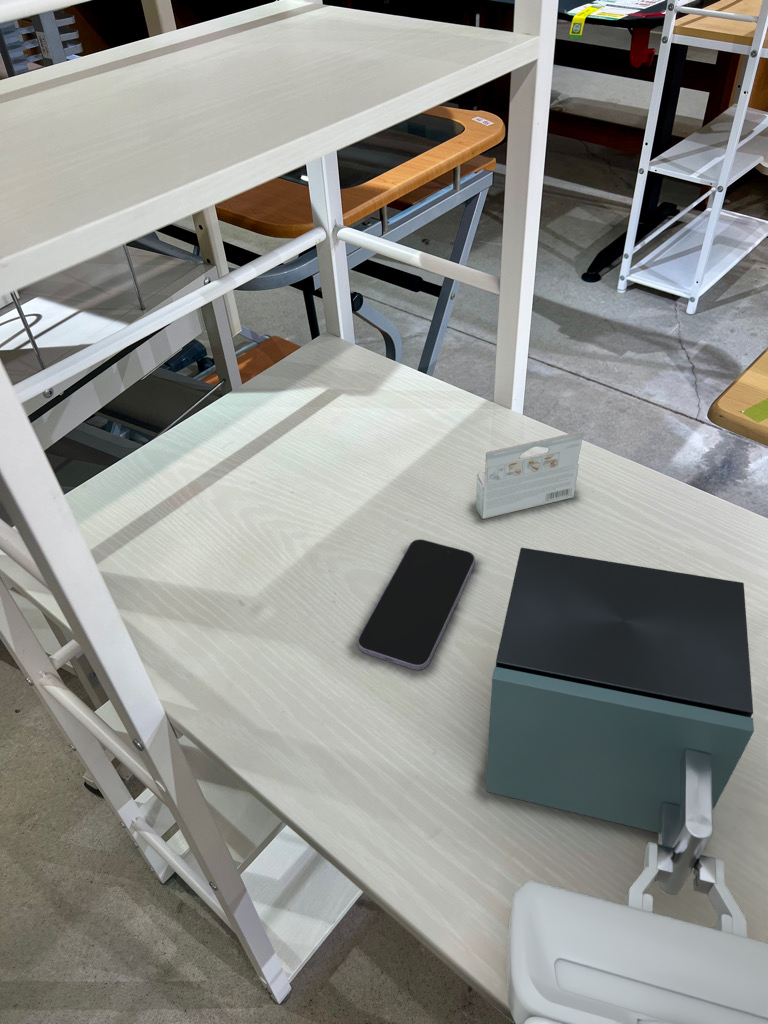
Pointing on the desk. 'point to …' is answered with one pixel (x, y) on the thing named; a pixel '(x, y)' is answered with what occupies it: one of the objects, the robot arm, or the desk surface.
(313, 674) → the desk surface
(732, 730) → the door
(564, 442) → the ink box
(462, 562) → the smartphone
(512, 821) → the desk surface
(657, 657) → the black cabinet
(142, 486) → the desk surface
